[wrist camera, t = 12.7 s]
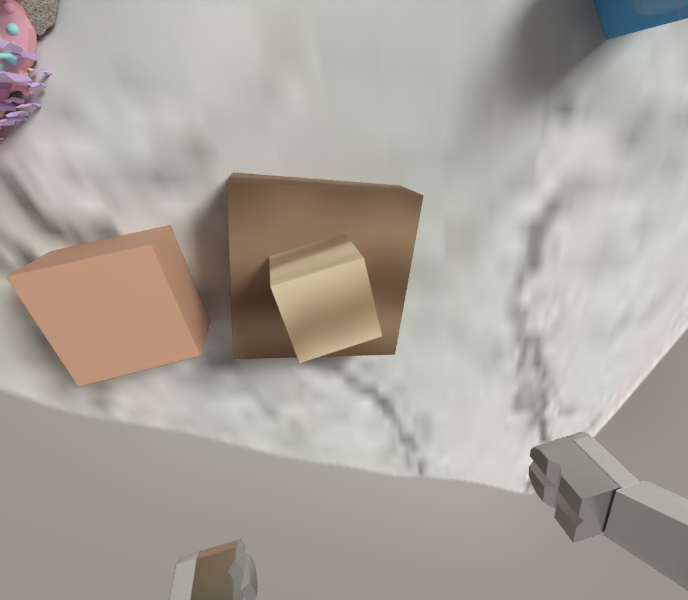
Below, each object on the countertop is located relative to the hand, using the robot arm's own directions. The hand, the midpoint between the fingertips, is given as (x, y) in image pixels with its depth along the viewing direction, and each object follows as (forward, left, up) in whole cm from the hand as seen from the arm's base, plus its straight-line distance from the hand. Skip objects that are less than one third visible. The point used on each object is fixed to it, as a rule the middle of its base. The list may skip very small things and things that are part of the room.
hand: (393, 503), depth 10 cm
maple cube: (0, 0, -16) cm, 16 cm away
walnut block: (0, 0, -21) cm, 21 cm away
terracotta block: (-1, -13, -21) cm, 25 cm away
